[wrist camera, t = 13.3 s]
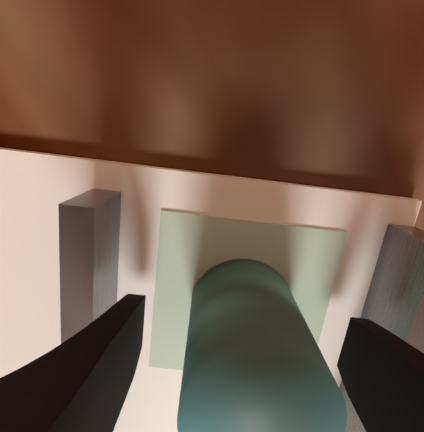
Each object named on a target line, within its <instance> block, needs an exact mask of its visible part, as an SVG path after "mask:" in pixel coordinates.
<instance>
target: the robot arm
mask: <svg viewBox="0 0 424 432" xmlns="http://www.w3.org/2000/svg"><path fill="white" fill-rule="evenodd" d="M145 298H146V295H137V294H127V295H125V296H124V297H123V298H122V299H120V300H119V301H118V302H117V303H115V304H114V305H113V306H112V307H110V308H109V309H108V310H107V311H106V312H104V313H103V314H102V315H100V316H99V317H98V318H97V319H95V320H94V321H93V322H91V323H90V324H89V325H87V326H86V327H85V328H83V329H82V330H81V331H79V332H78V333H76V334H75V335H73V336H72V337H71V338H69V339H68V340H66V341H65V342H63V343H62V344H60V345H59V346H57V347H56V348H54V349H52V350H51V351H49V352H47V353H46V354H44V355H42V356H41V357H39V358H37V359H35V360H34V361H32V362H30V363H28V364H27V365H25V366H23V367H21V368H19V369H17V370H15V371H13V372H11V373H9V374H7V375H5V376H3V377H1V378H0V432H113V430H114V428H115V425H116V422H117V420H118V417H119V415H120V412H121V409H122V407H123V404H124V402H125V399H126V396H127V394H128V391H129V388H130V386H131V383H132V381H133V378H134V375H135V372H136V368H137V364H138V360H139V356H140V352H141V349H142V341H143V327H144V313H145ZM337 367H338V370H339V373H340V376H341V379H342V381H343V384H344V387H345V389H346V392H347V394H348V397H349V399H350V401H351V403H352V405H353V407H354V409H355V411H356V413H357V415H358V417H359V419H360V421H361V422H362V424H363V426H364V428H365V430H366V432H424V353H422V352H421V351H419V350H418V349H416V348H415V347H413V346H411V345H410V344H408V343H407V342H405V341H404V340H402V339H401V338H399V337H397V336H396V335H394V334H393V333H391V332H390V331H388V330H386V329H385V328H383V327H381V326H380V325H378V324H376V323H375V322H373V321H371V320H369V319H364V318H355V317H350V321H349V324H348V328H347V331H346V335H345V338H344V342H343V345H342V349H341V352H340V356H339V359H338V363H337Z"/></svg>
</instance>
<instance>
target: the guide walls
mask: <svg viewBox="0 0 424 432" xmlns="http://www.w3.org/2000/svg"><path fill="white" fill-rule="evenodd" d="M58 209H59V263H60V317H61V344H62V343H63V342H65V341H66V340H68V339H69V338H71V337H72V336H73V335H75V334H76V333H78V332H79V331H81V330H82V329H83V328H85V327H86V326H87V325H89V324H90V323H91V322H93V321H94V320H95V319H97V318H98V317H99V316H100V315H102V314H103V313H104V312H106V311H107V310H108V309H109V308H110V307H112V306H113V305H114V304H115V303H117V284H118V260H119V235H120V210H121V192H120V191H111V190H103V189H94V188H93V189H91V190H89V191H87V192H84V193H82V194H80V195H78V196H75V197H73V198H71V199H69V200H66V201H64V202H62V203H60V204H58ZM360 318H364V319H369V320H371V321H373V322H375V323H376V324H378V325H380V326H381V327H383V328H385V329H386V330H388V331H390V332H391V333H393V334H394V335H396V336H397V337H399V338H401V339H402V340H404V341H405V342H407V343H408V344H410V345H411V346H413V347H415V348H416V349H418V350H419V351H421V352H422V353H424V231H423V230H420V229H418V228H416V227H413V226H404V225H396V224H388V226H387V230H386V233H385V236H384V240H383V243H382V246H381V250H380V253H379V256H378V260H377V263H376V266H375V270H374V273H373V277H372V280H371V283H370V287H369V290H368V293H367V297H366V300H365V303H364V307H363V310H362V313H361V317H360ZM339 389H340V391H341V393H342V395H343V398H344V401H345V404H346V409H347V422H346V428H345V431H344V432H366V430H365V428H364V426H363V424H362V422H361V421H360V419H359V417H358V415H357V413H356V411H355V409H354V407H353V405H352V403H351V401H350V399H349V397H348V394H347V392H346V389H345V387H344V384H343V381H341V384H340V387H339Z"/></svg>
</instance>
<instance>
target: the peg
mask: <svg viewBox="0 0 424 432" xmlns="http://www.w3.org/2000/svg"><path fill="white" fill-rule="evenodd" d="M346 422H347V409H346V404H345V401H344V398H343V395H342V393H341V391H340V389H339V387H338V385H337V383H336V381H335V379H334V377H333V375H332V373H331V371H330V369H329V367H328V365H327V363H326V361H325V359H324V357H323V355H322V353H321V351H320V349H319V347H318V345H317V343H316V341H315V339H314V337H313V335H312V333H311V331H310V329H309V327H308V325H307V323H306V321H305V319H304V317H303V315H302V313H301V311H300V309H299V307H298V305H297V303H296V301H295V299H294V297H293V295H292V293H291V291H290V289H289V287H288V285H287V284H286V282H285V280H284V279H283V277H282V276H281V275H280V274H279V273H278V272H277V271H276V270H275V269H273V268H272V267H271V266H269V265H267V264H265V263H262V262H260V261H256V260H252V259H233V260H229V261H225V262H222V263H220V264H218V265H216V266H214V267H212V268H211V269H210V270H208V271H207V272H206V273H205V274H204V275H203V276H202V277H201V278H200V280H199V281H198V283H197V284H196V286H195V289H194V291H193V295H192V301H191V309H190V318H189V326H188V334H187V342H186V350H185V358H184V366H183V374H182V382H181V391H180V399H179V407H178V415H177V429H178V432H344V431H345V428H346Z"/></svg>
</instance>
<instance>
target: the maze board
mask: <svg viewBox="0 0 424 432" xmlns="http://www.w3.org/2000/svg"><path fill="white" fill-rule="evenodd" d="M93 188H94V189H103V190H111V191H120V192H121V210H120V235H119V260H118V284H117V302H118V301H119V300H120V299H122V298H123V297H124V296H125V295H127V294H137V295H146V298H145V313H144V327H143V341H142V349H141V352H140V356H139V360H138V364H137V368H136V372H135V375H134V378H133V381H132V383H131V386H130V388H129V391H128V394H127V396H126V399H125V402H124V404H123V407H122V409H121V412H120V415H119V417H118V420H117V422H116V425H115V428H114V430H113V432H178V429H177V415H178V407H179V399H180V391H181V382H182V374H183V366H184V358H185V350H186V342H187V334H188V326H189V318H190V309H191V301H192V295H193V291H194V289H195V286H196V284H197V283H198V281H199V280H200V278H201V277H202V276H203V275H204V274H205V273H206V272H207V271H208V270H210V269H211V268H212V267H214V266H216V265H218V264H220V263H222V262H225V261H229V260H233V259H252V260H256V261H260V262H262V263H265V264H267V265H269V266H271V267H272V268H273V269H275V270H276V271H277V272H278V273H279V274H280V275H281V276H282V277H283V279H284V280H285V282H286V284H287V285H288V287H289V289H290V291H291V293H292V295H293V297H294V299H295V301H296V303H297V305H298V307H299V309H300V311H301V313H302V315H303V317H304V319H305V321H306V323H307V325H308V327H309V329H310V331H311V333H312V335H313V337H314V339H315V341H316V343H317V345H318V347H319V349H320V351H321V353H322V355H323V357H324V359H325V361H326V363H327V365H328V367H329V369H330V371H331V373H332V375H333V377H334V379H335V381H336V383H337V385H338V387H340V384H341V381H342V379H341V376H340V373H339V370H338V367H337V363H338V359H339V356H340V352H341V349H342V345H343V342H344V338H345V335H346V331H347V328H348V324H349V321H350V317H355V318H360V317H361V313H362V310H363V307H364V303H365V300H366V297H367V293H368V290H369V287H370V283H371V280H372V277H373V273H374V270H375V266H376V263H377V260H378V256H379V253H380V250H381V246H382V243H383V240H384V236H385V233H386V230H387V226H388V224H396V225H404V226H413V227H414V225H415V222H416V219H417V216H418V213H419V210H420V207H421V203H422V201H421V200H418V199H414V198H408V197H400V196H392V195H384V194H376V193H368V192H359V191H351V190H343V189H335V188H327V187H319V186H311V185H303V184H294V183H286V182H278V181H270V180H262V179H254V178H246V177H238V176H229V175H221V174H213V173H205V172H197V171H189V170H181V169H173V168H164V167H156V166H148V165H140V164H132V163H124V162H116V161H108V160H99V159H91V158H83V157H75V156H67V155H59V154H51V153H43V152H34V151H26V150H18V149H10V148H2V147H0V378H1V377H3V376H5V375H7V374H9V373H11V372H13V371H15V370H17V369H19V368H21V367H23V366H25V365H27V364H28V363H30V362H32V361H34V360H35V359H37V358H39V357H41V356H42V355H44V354H46V353H47V352H49V351H51V350H52V349H54V348H56V347H57V346H59V345H60V344H61V317H60V263H59V209H58V204H60V203H62V202H64V201H66V200H69V199H71V198H73V197H75V196H78V195H80V194H82V193H84V192H87V191H89V190H91V189H93Z"/></svg>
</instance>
